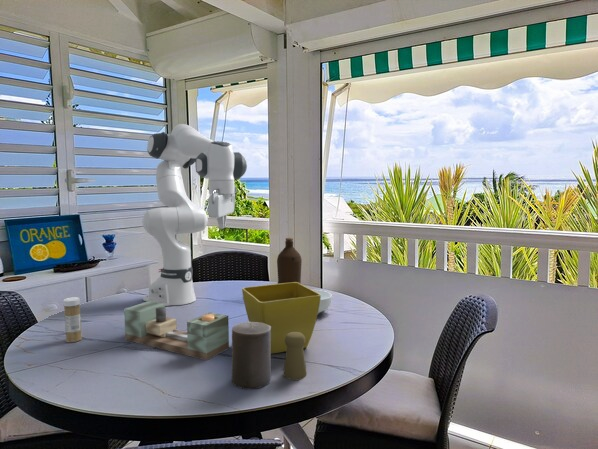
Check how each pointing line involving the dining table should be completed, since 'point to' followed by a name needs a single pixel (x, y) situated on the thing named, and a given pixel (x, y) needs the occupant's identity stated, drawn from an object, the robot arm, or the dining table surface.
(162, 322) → the carriage
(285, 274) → the olive oil
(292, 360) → the game pawn
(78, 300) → the sprinkles bottle
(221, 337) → the rail bed
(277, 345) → the flower pot
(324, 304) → the cereal bowl
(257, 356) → the pillar candle
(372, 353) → the dining table surface
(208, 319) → the plunger
